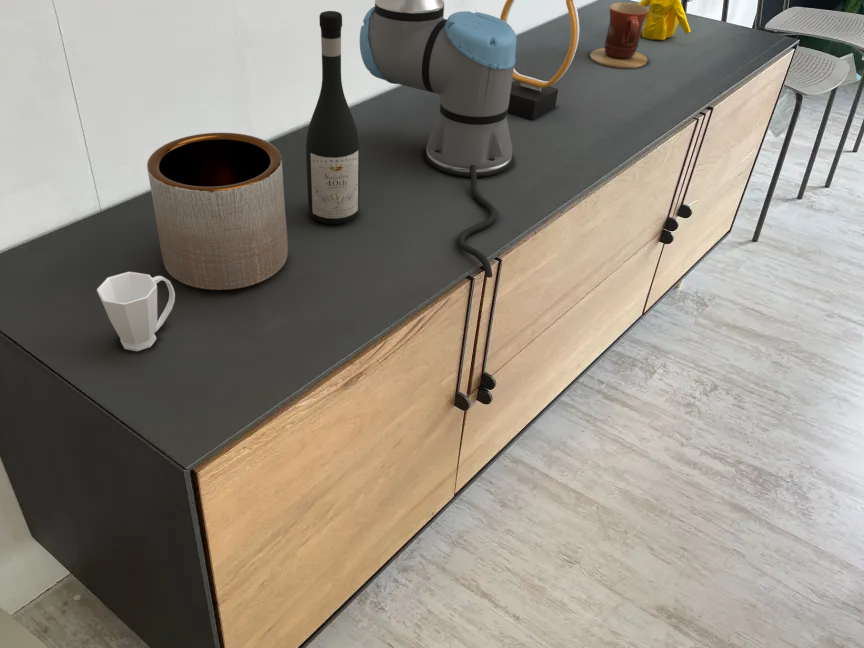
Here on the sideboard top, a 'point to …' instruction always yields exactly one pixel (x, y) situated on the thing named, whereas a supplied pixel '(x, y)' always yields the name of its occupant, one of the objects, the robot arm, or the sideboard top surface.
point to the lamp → (532, 93)
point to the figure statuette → (663, 19)
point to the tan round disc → (618, 60)
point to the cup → (134, 307)
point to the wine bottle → (332, 138)
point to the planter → (219, 210)
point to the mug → (624, 29)
